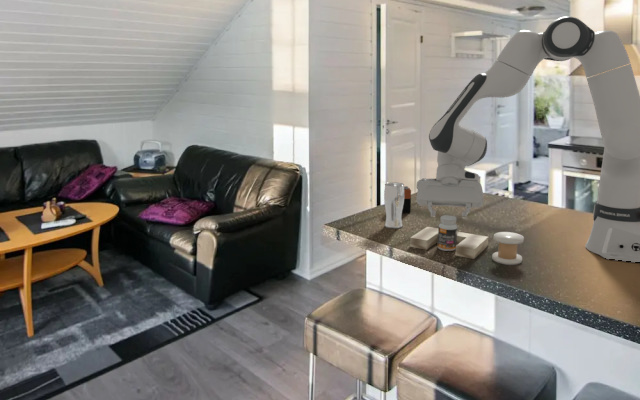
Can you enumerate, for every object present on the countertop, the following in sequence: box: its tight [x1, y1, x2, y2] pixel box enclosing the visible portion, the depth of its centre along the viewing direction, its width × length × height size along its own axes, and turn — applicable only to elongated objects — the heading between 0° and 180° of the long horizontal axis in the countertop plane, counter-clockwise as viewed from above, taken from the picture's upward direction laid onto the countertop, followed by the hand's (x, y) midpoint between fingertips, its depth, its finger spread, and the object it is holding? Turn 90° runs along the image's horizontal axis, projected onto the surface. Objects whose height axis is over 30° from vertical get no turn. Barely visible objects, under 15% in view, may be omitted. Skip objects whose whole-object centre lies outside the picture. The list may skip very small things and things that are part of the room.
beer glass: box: [383, 181, 405, 230], centre depth 176 cm, size 7×7×15 cm
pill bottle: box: [436, 214, 458, 252], centre depth 153 cm, size 6×6×10 cm
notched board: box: [409, 226, 489, 260], centre depth 156 cm, size 20×13×3 cm, turn 55°
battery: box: [402, 185, 412, 214], centre depth 194 cm, size 4×7×10 cm, turn 90°
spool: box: [491, 231, 525, 266], centre depth 144 cm, size 8×8×7 cm
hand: (448, 217), depth 155 cm, fingers open, 8 cm apart
